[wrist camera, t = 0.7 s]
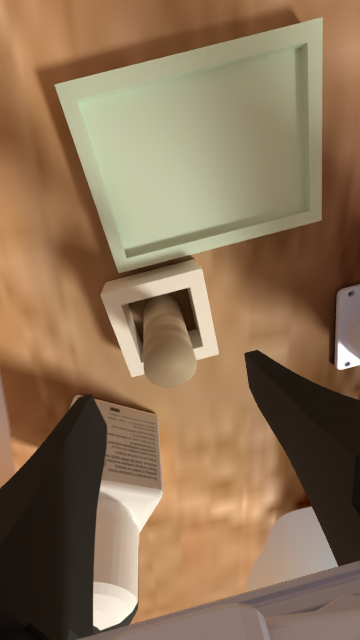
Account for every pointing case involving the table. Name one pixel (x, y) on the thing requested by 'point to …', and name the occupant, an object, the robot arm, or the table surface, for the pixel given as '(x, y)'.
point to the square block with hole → (153, 285)
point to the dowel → (166, 343)
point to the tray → (203, 144)
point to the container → (123, 511)
